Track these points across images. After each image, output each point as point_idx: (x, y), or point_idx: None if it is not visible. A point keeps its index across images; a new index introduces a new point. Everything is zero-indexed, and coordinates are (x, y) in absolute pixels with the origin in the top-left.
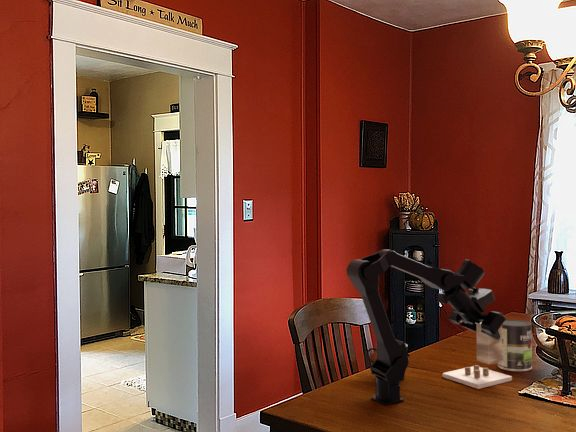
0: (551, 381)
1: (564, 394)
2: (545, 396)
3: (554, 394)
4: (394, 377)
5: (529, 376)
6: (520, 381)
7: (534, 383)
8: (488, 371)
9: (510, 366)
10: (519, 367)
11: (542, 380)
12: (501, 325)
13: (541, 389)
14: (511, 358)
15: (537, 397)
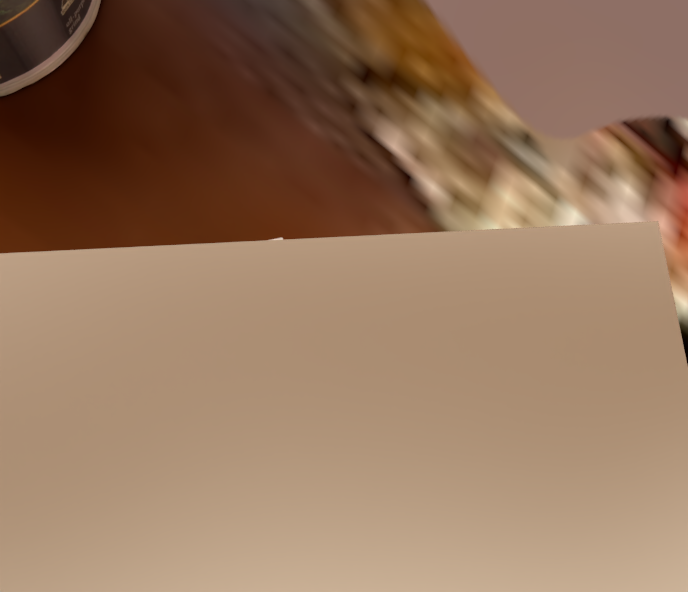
0: (405, 7)
1: (671, 139)
2: (678, 280)
3: (656, 196)
4: None
5: (237, 53)
6: (324, 203)
7: (405, 144)
8: None
9: (25, 57)
10: (79, 6)
11: (362, 43)
12: (634, 251)
13: (541, 198)
14: (8, 3)
15: (684, 345)
